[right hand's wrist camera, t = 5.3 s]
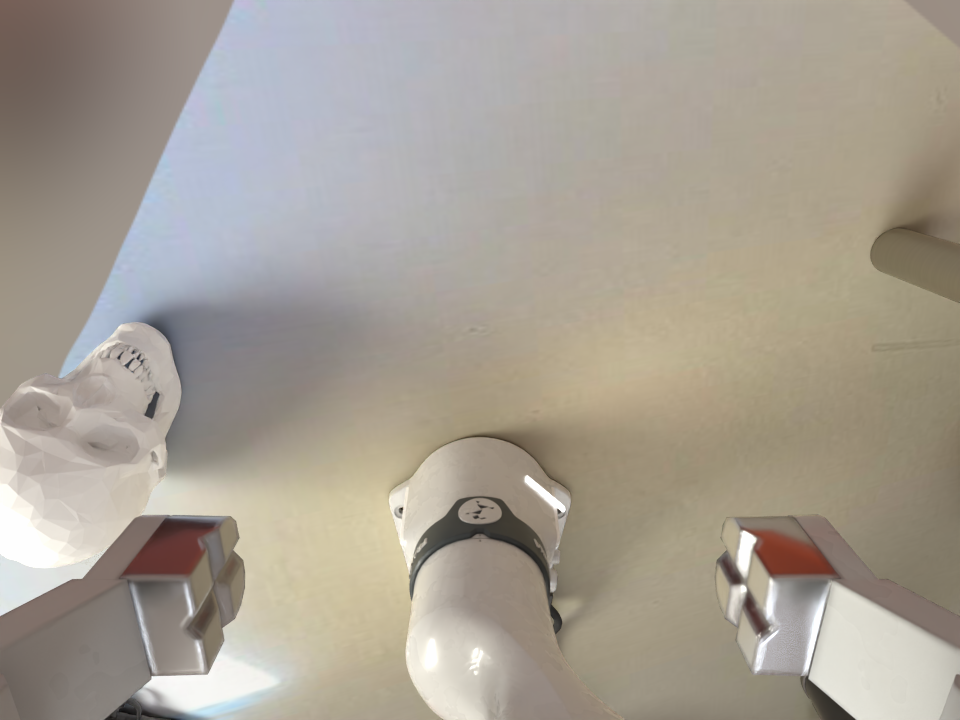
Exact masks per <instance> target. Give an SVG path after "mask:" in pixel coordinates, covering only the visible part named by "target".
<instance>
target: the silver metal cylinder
mask: <svg viewBox="0 0 960 720" xmlns="http://www.w3.org/2000/svg"><path fill="white" fill-rule="evenodd" d="M871 261H872V263H873V265H874V267H875V268H876V269H877V270H879V271H881V272H883V273H886V274H888V275H891V276H893V277H896V278H898V279H901V280H903V281H906V282H908V283H911V284H913V285H916V286H918V287H921V288H923V289H926V290H928V291H931V292H933V293H935V294H938V295H940V296H943V297H945V298H948V299H950V300H953V301H955V302H958V303H960V244H957V243H954V242H950V241H947V240H943V239H939V238H936V237H932V236H929V235H925V234H922V233H918V232H914V231H911V230H907V229H903V228H895V229H891V230H889V231H887V232H885V233H883V234H882V235H881V236H880V237H879V238H878V239H877V240H876V241H875V243H874V245H873V247H872V250H871Z"/></svg>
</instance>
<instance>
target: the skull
mask: <svg viewBox="0 0 960 720" xmlns="http://www.w3.org/2000/svg"><path fill="white" fill-rule="evenodd" d="M128 348H129V349H128ZM127 349H128V350H127ZM126 350H127V351H126ZM133 350H134V351H135V353H134V354H131V353H132V351H133ZM122 352H124V353H123V354H122V355H121V358H120V360H119V359H117V358H118V356H119V355H120V354H121V353H122ZM139 354H140V355H141V356H140V358H139V361H138V360H137V359H136V358H137V357H138V355H139ZM132 358H133V359H134V360H133V361H132V363H131V364H130V365H129V368H128V369H127V368H126V367H125V366H124V365H125V364H127V363H128V362H129V361H130V360H131V359H132ZM142 359H143V361H144V362H143V363H142V365H141V366H139V365H140V364H141V362H140V361H141V360H142ZM138 366H139V367H138ZM137 367H138V368H137ZM136 368H137V369H136ZM135 369H136V370H135ZM145 369H147V370H145ZM134 370H135V371H134ZM131 371H133V373H132V372H131ZM141 380H142V381H141ZM155 391H156V392H158V393H159V397H158V401H157V404H156V409H155V414H154V417H153V418H152V419H151V418H148V417H146V416H145V413H146V410H147V407H148V404H149V403H151V401H152V399H153V395H154V394H155ZM181 394H182V390H181V384H180V379H179V376H178V373H177V370H176V367H175V364H174V360H173V355H172V350H171V345H170V344H169V342H168V341H167V339H166V337H165V336H164V335H163V334H162V333H161V332H160V331H158V330H157V329H155V328H153V327H151V326H149V325H148V324H145V323H140V322H131V323H124V324H122V325H120V326H119V327H118V328H117V329H116V330H115V332H114V333H113V334H112V335H111V336H110V337H109V338H108V339H107V340H106V341H105V342H103V343H102V344H100V345H99V346H98V347H97V348H96V349H95V350H94V351H93V352H92V353H91V354H89V355H88V356H87V357H86V358H85V359H84V360H83V361H82V362H81V363H80V365H79V366H78V367H77V368H76V369H75V370H73V371H72V372H70V373H69V374H68V375H66V376H65V377H63V378H62V379H60V378H57V377H55V376H52V375H50V374H47V373H44V374H41V375H38V376H36V377H34V378H32V379H30V380H28V381H25V382H24V383H22V384H21V385H20V386H19V387H18V388H17V389H16V391H15V392H14V393H13V394H12V395H11V396H10V397H9V399H8V400H7V401H6V402H5V403H4V405H3V406H2V407H1V408H0V554H2V555H3V556H5V557H6V558H8V559H12V560H16V561H18V562H20V563H23V564H25V565H27V566H31V567H39V568H52V567H59V566H65V565H70V564H75V563H78V562H81V561H83V560H86V559H89V558H91V557H93V556H94V555H96V554H98V553H99V552H101V551H103V550H104V549H106V548H107V547H109V546H110V545H112V544H113V542H114V541H115V540H116V539H117V538H118V537H119V535H120V534H121V533H122V532H123V531H124V530H125V528H126V527H127V526H128V525H129V524H130V523H131V521H132V520H133V519H134V518H135V517H138V516H140V515H141V514H142V512H143V511H144V509H145V507H146V505H147V502H148V500H149V497H150V494H151V492H152V491H153V489H154V488H155V487H156V486H157V485H158V484H159V483H160V482H161V481H162V480H163V479H164V478H165V477H166V465H167V453H168V451H167V450H166V442H165V437H166V435H167V433H168V430H169V428H170V426H171V424H172V422H173V419H174V417H175V415H176V413H177V411H178V408H179V405H180V400H181Z"/></svg>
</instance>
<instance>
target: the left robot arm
mask: <svg viewBox="0 0 960 720" xmlns="http://www.w3.org/2000/svg"><path fill="white" fill-rule="evenodd" d="M808 678H809V676H801V684H802V687H803V689H804V691H805V693H806V695H807V696H808V698H809V699H810V700H811V702H812V704H813V706H814V708H815V710H816V712H817V713H818V715H819V717H820V719H821V720H856V719H855V718H854V717H853V716H851V715H850V714H849V713H848V712H847V711H846V710H844V709H843V708H842V707H841V706H840V705H839V704H837V703H836V702H835V701H834V700H833V699H831V698H830V697H829V696H828V695H827V694H826V693H824V692H823V691H822V690H821V689H820V688H819V687H817V686H816V685H815V684H814V683H813V682H812V681H810V680H809V679H808Z"/></svg>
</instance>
